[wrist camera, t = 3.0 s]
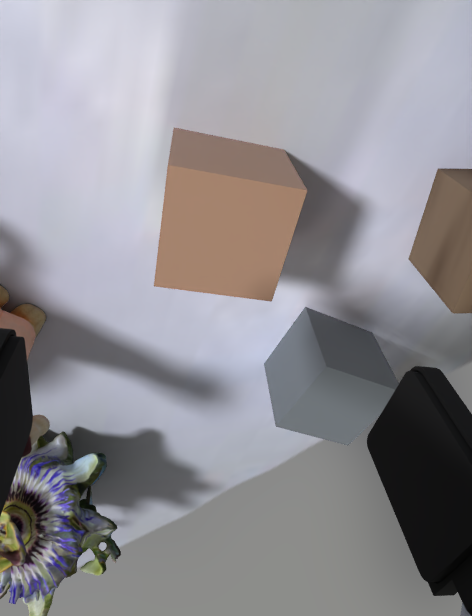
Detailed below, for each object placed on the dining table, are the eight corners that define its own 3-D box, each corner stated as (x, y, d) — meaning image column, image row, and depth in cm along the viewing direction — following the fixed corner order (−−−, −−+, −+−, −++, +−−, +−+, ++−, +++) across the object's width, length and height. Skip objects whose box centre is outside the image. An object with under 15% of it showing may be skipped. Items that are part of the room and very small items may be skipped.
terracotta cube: (283, 149, 19) (307, 190, 15) (257, 245, 22) (271, 301, 18) (173, 127, 18) (168, 164, 14) (161, 230, 21) (153, 286, 17)
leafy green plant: (54, 376, 34) (84, 437, 24) (129, 463, 38) (181, 546, 28) (-85, 477, 30) (-121, 603, 20) (16, 561, 34) (28, 699, 24)
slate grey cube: (371, 331, 26) (403, 392, 22) (326, 382, 29) (348, 445, 25) (305, 306, 25) (326, 366, 21) (263, 362, 27) (275, 426, 23)
